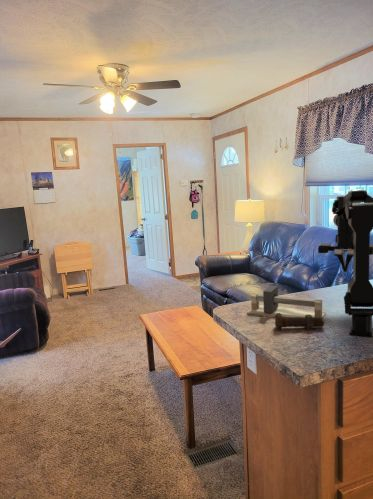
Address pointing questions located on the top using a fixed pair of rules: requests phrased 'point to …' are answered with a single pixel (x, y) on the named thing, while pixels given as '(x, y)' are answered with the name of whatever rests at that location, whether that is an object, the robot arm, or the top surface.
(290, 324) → the bolt
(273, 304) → the grey square collar
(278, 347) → the top surface
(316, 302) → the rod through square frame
